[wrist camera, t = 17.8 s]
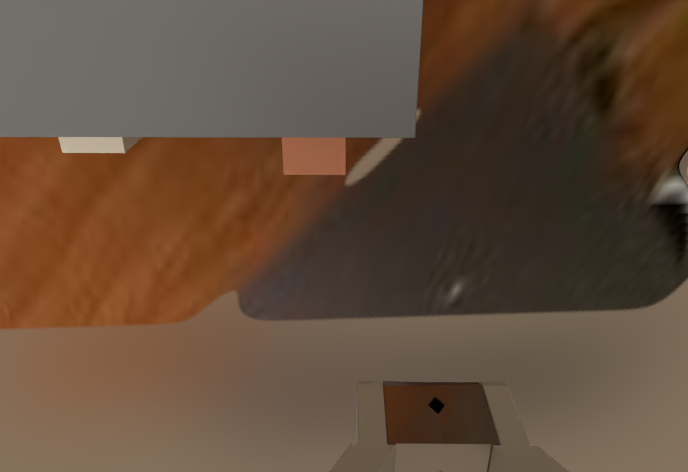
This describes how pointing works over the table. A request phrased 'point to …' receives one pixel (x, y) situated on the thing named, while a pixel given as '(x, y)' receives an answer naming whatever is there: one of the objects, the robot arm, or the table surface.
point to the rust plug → (314, 156)
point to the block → (209, 68)
